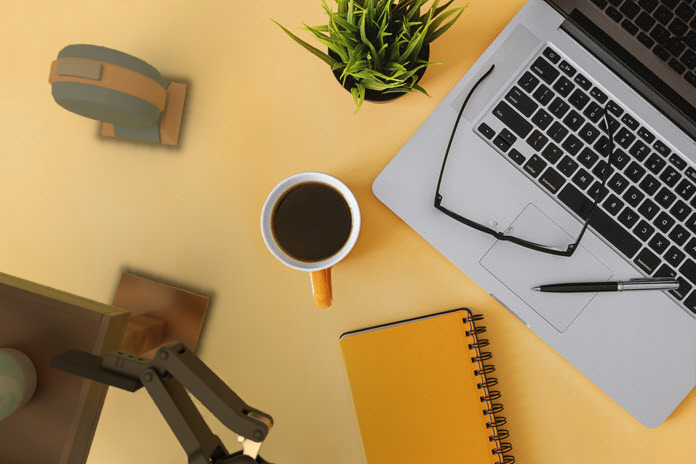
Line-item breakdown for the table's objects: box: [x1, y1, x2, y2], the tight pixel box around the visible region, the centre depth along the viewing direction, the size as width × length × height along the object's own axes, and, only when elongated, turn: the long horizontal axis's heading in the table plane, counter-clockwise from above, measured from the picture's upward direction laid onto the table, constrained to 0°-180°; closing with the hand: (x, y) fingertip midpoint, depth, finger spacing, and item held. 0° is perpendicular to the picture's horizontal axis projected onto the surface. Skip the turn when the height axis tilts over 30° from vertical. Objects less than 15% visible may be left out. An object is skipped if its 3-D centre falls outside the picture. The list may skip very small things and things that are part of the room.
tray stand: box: [112, 272, 211, 388], centre depth 60 cm, size 14×14×29 cm
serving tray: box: [0, 271, 131, 464], centre depth 44 cm, size 18×18×4 cm
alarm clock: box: [48, 43, 188, 147], centre depth 67 cm, size 14×10×18 cm
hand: (35, 446), depth 36 cm, fingers open, 13 cm apart
